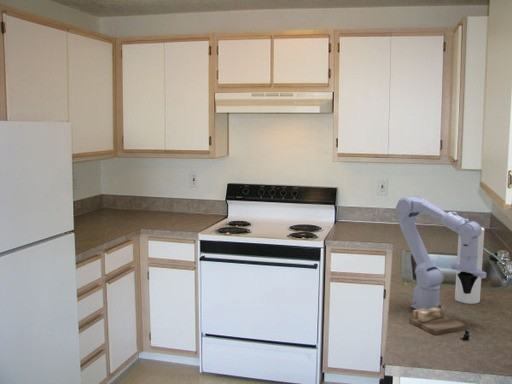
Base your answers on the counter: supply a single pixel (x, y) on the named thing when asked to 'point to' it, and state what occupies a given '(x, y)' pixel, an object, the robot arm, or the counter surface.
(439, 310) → the hinged leg
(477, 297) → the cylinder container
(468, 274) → the robot arm
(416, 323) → the board
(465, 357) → the counter surface
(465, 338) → the sculpture
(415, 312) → the block
